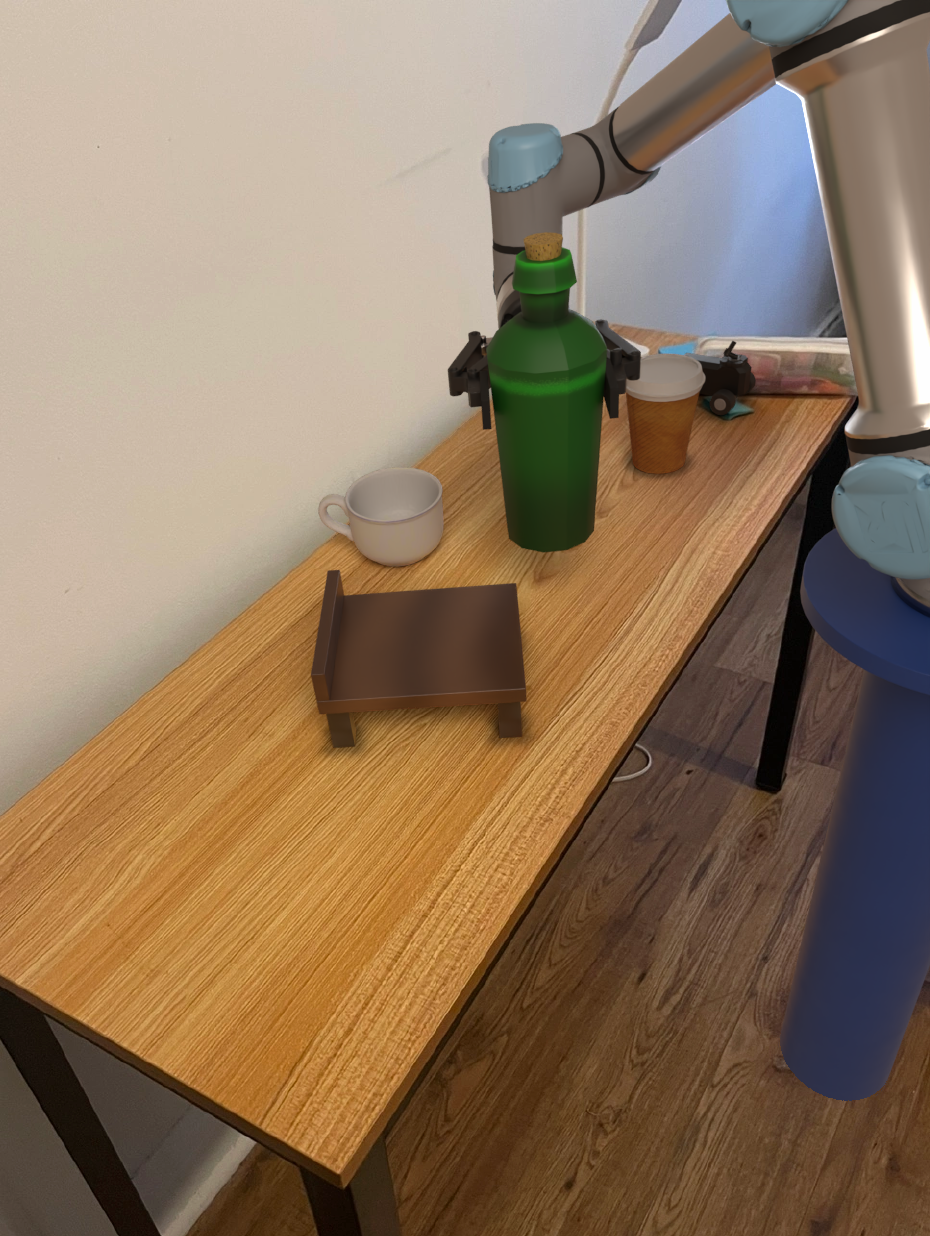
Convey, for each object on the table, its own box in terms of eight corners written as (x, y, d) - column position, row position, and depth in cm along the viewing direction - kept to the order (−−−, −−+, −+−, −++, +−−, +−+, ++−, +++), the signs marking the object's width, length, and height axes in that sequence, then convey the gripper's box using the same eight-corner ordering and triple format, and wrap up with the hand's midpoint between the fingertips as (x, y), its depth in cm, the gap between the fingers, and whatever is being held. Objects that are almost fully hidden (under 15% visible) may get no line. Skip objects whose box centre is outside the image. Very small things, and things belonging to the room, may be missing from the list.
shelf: (518, 632, 102) (514, 556, 96) (528, 740, 90) (524, 660, 84) (341, 644, 104) (327, 570, 98) (327, 752, 92) (310, 674, 86)
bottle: (579, 497, 106) (579, 211, 88) (622, 547, 98) (631, 243, 80) (482, 520, 105) (461, 234, 87) (517, 572, 97) (502, 269, 79)
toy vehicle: (731, 421, 132) (738, 355, 126) (626, 401, 140) (628, 338, 134) (756, 396, 137) (764, 331, 131) (653, 378, 144) (656, 316, 139)
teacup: (458, 530, 118) (452, 468, 113) (433, 582, 111) (426, 518, 106) (346, 523, 122) (335, 463, 117) (314, 573, 115) (302, 511, 109)
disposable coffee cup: (690, 440, 129) (697, 348, 121) (705, 477, 122) (714, 380, 114) (614, 447, 130) (616, 356, 122) (625, 484, 123) (628, 389, 115)
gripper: (644, 343, 107) (681, 437, 90) (427, 363, 109) (423, 459, 92) (647, 269, 102) (686, 355, 85) (420, 292, 104) (414, 380, 87)
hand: (550, 409), depth 89 cm, fingers closed on bottle, 10 cm apart
